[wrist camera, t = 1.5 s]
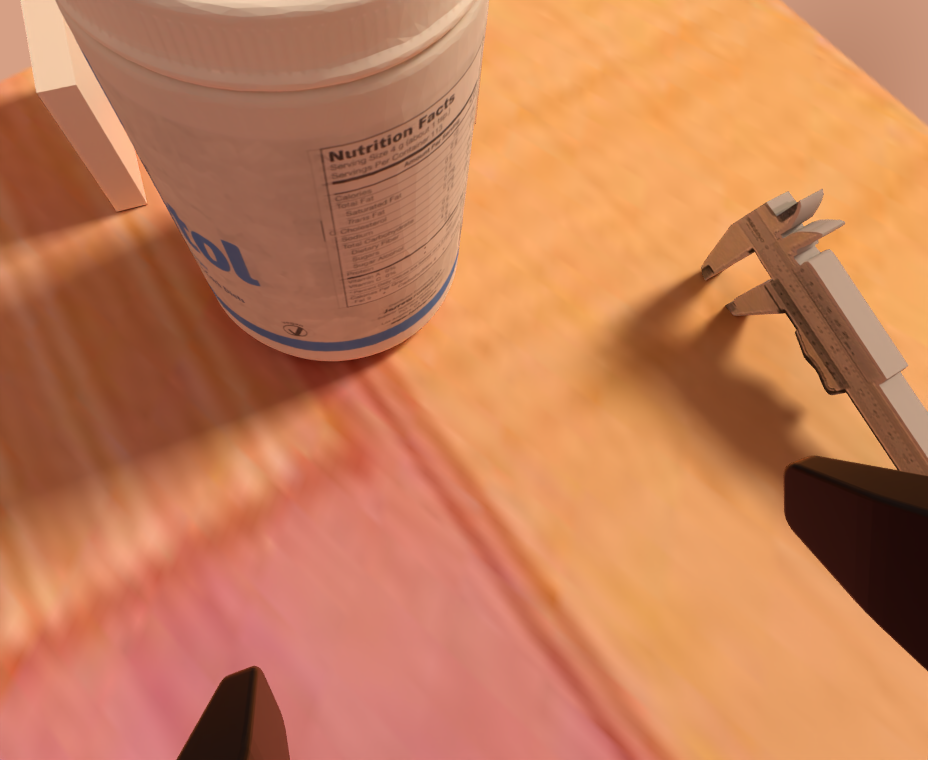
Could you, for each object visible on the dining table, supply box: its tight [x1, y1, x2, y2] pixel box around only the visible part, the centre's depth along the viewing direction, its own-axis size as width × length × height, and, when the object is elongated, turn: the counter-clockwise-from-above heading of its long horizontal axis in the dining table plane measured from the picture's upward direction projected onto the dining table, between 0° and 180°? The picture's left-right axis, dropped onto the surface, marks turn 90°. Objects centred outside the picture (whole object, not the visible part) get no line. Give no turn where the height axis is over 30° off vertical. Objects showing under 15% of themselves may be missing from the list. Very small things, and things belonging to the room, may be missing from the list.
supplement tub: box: [55, 0, 489, 361], centre depth 19 cm, size 10×10×15 cm
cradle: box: [20, 0, 482, 211], centre depth 26 cm, size 8×15×6 cm, turn 111°
